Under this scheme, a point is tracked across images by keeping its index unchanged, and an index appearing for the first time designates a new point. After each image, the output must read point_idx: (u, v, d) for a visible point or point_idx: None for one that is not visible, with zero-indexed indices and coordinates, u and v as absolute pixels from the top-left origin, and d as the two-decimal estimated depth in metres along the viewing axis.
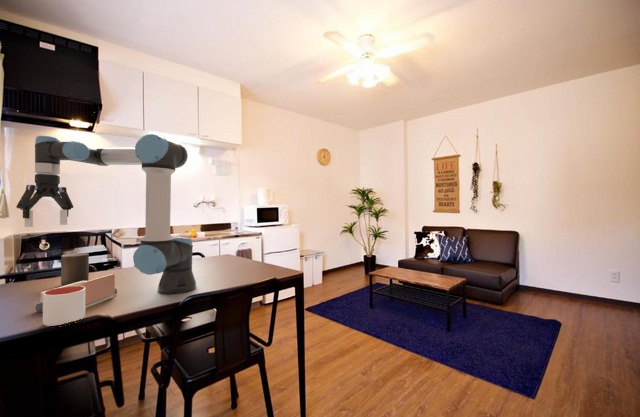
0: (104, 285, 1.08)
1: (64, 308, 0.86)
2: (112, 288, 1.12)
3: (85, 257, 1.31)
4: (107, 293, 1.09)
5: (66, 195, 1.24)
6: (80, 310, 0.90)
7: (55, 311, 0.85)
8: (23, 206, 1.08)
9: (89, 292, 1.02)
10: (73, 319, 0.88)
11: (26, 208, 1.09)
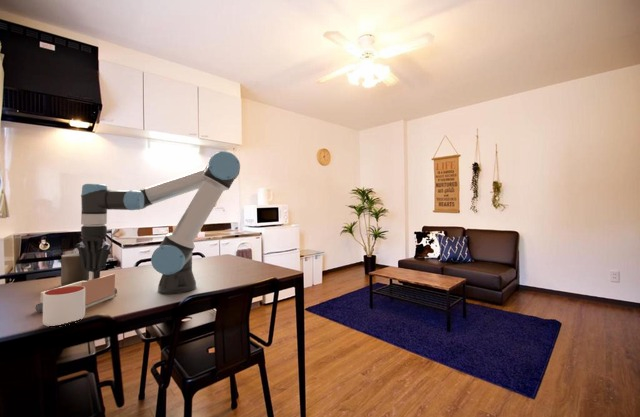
0: (104, 285, 1.08)
1: (64, 308, 0.86)
2: (113, 288, 1.12)
3: None
4: (107, 293, 1.09)
5: (101, 253, 1.05)
6: (80, 310, 0.90)
7: (55, 311, 0.85)
8: (83, 267, 1.06)
9: (89, 292, 1.02)
10: (73, 319, 0.88)
11: None
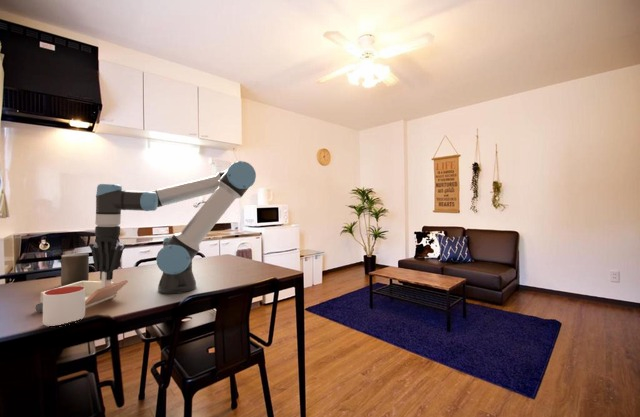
0: (112, 290, 1.08)
1: (64, 308, 0.86)
2: (116, 291, 1.12)
3: (85, 257, 1.31)
4: (109, 295, 1.09)
5: (115, 254, 1.04)
6: (80, 310, 0.90)
7: (55, 311, 0.85)
8: (95, 267, 1.05)
9: (96, 297, 1.02)
10: (73, 319, 0.88)
11: (100, 270, 1.05)
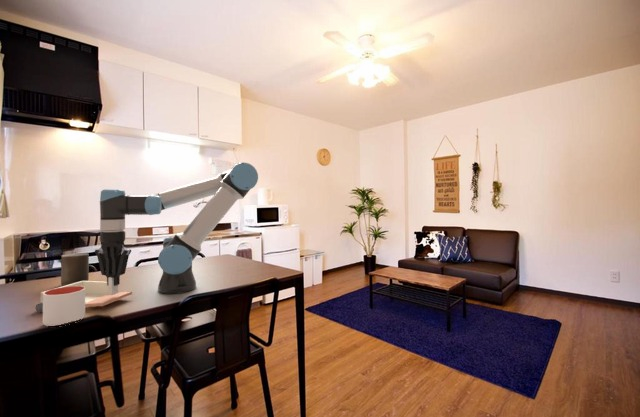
0: None
1: (64, 308, 0.86)
2: None
3: (85, 257, 1.31)
4: None
5: (121, 259, 1.04)
6: (80, 310, 0.90)
7: (55, 311, 0.85)
8: (102, 273, 1.05)
9: None
10: (73, 319, 0.88)
11: None
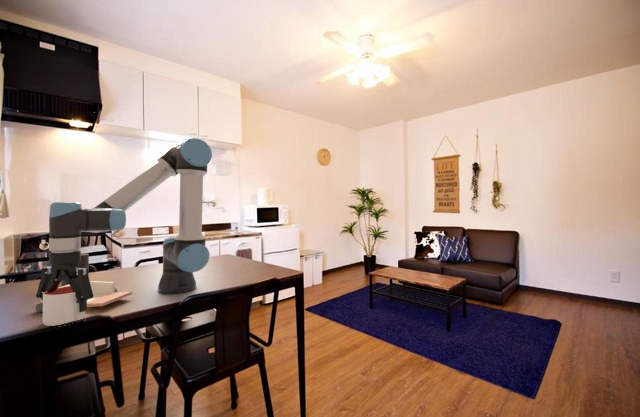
0: None
1: (64, 308, 0.86)
2: None
3: (85, 257, 1.31)
4: None
5: (80, 281, 0.88)
6: None
7: (55, 311, 0.85)
8: (37, 295, 0.89)
9: None
10: (73, 319, 0.88)
11: None
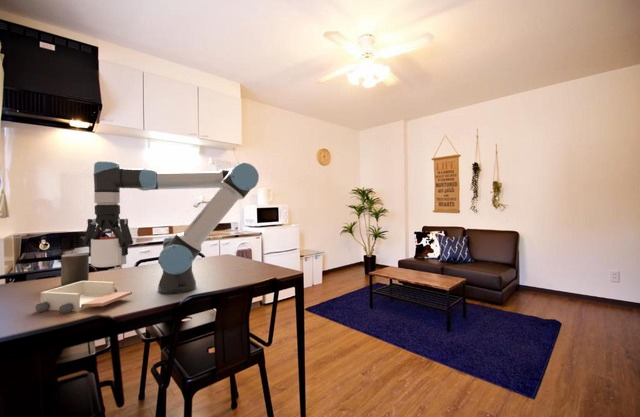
0: None
1: (110, 251, 1.01)
2: None
3: (85, 257, 1.31)
4: None
5: (122, 229, 1.03)
6: None
7: (103, 253, 1.00)
8: (84, 243, 1.04)
9: None
10: (117, 261, 1.03)
11: None
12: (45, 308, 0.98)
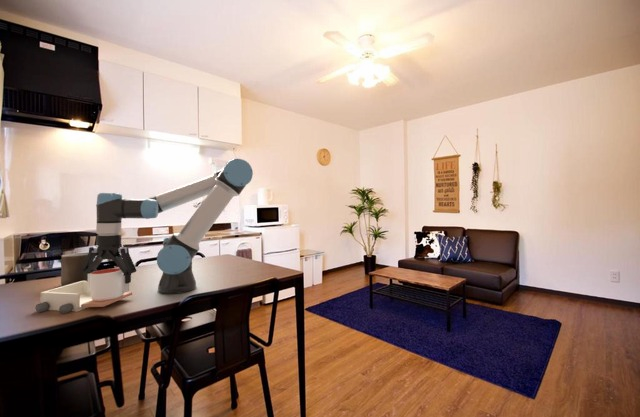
0: None
1: (108, 285, 1.02)
2: None
3: (85, 257, 1.31)
4: None
5: (123, 258, 1.04)
6: (121, 287, 1.06)
7: (101, 287, 1.01)
8: (81, 269, 1.05)
9: None
10: (116, 294, 1.04)
11: None
12: (45, 308, 0.98)
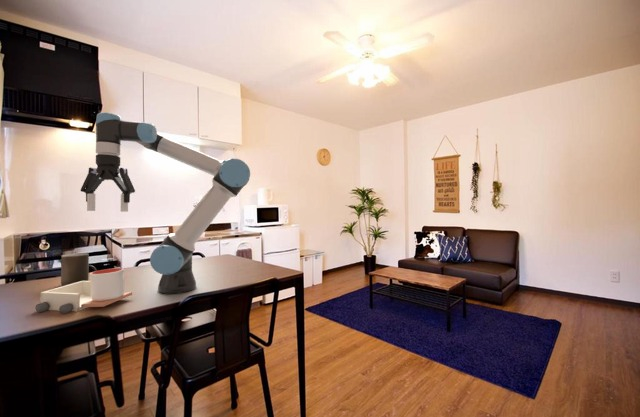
0: None
1: (108, 285, 1.02)
2: None
3: (85, 257, 1.31)
4: None
5: (122, 177, 1.06)
6: (121, 287, 1.06)
7: (101, 287, 1.01)
8: (81, 189, 1.07)
9: None
10: (116, 294, 1.04)
11: None
12: (45, 308, 0.98)
